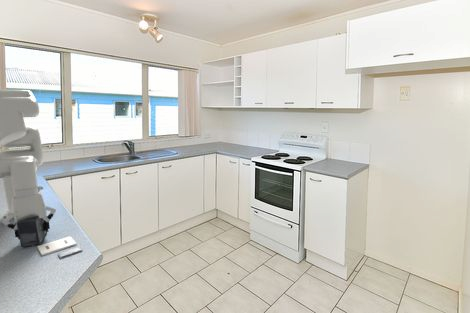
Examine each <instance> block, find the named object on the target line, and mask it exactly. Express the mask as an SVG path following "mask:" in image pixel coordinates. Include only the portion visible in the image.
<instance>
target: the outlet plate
mask: <svg viewBox="0 0 470 313" xmlns="http://www.w3.org/2000/svg"><path fill="white" fill-rule="evenodd" d="M73 246H77V242H76V241H75V240H74V239H73V237H72V236H66V237H63V238H60V239H57V240H53V241H51V242H50V241H49V242H47V243H42V244H40V245H37V246H36V247H37V250H38V252H39V253H40V255H41V256H47V255H49V254H53V253H56V252H58V251H61V250H65V249H67V248H71V247H73Z"/></svg>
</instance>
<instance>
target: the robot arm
mask: <svg viewBox="0 0 470 313" xmlns="http://www.w3.org/2000/svg"><path fill="white" fill-rule="evenodd" d="M38 103H39V102H38V101H37V98H36V97H35V95H34V94H33V92H32V91H31V90H28V89H8V88H6V89H5V88H3V89H1V88H0V150H1V149H2V147H3V148H14V149H5V150H2V151H0V179H2V183H3V188H4V194H5V198H6V199H5V200H6V204H7V211H5V212H4V217H5V218H4V219H3V220H2V224H3V225H5V226H6V227H7V228H9V229H11V230H14V237H15V238H17V239H18V240H19V241H20V238H19V233H18V227H17V222H18V221H20V220H23V219H27V218H31V217H35V216H39V218H40V219H41V218H42V219H44V228H45V231H46V232H47V233H49V230H50V228H51V227H50V221H51V219H52V218H53V217H54V215H55V214H56V211H57V209H56V208H55V207H50V206H47V205H46V203H45V200H44V196H43V194H42V192H41V191H43V190H44V186H43V185H41V186H40V185H39V183H38V176H37V171H38V170H39V167H40V166H42V165H43V163H44V155H43V148H42V140H41V135H40V131H39V129H38V128H37V127H36V126H34V125H26V124H25V119H24V118H37V117H38V115H39V113H40V107H39V104H38ZM17 147H26V148H17ZM28 147H29V148H28ZM47 211H49V214H48V215H47ZM12 219H13V220H14V223H11V222H10V220H12Z"/></svg>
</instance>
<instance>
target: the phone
mask: <svg viewBox="0 0 470 313" xmlns="http://www.w3.org/2000/svg"><path fill="white" fill-rule="evenodd" d="M81 252H83V249H82V248H81V247H80V246H77V247H75V248H71V249H68V250H65V251H63V252H59V253H57V256H58V258H59V260H61V259H65V258H67V257H70V256H73V255H76V254H79V253H81Z"/></svg>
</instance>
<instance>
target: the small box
mask: <svg viewBox="0 0 470 313" xmlns="http://www.w3.org/2000/svg"><path fill="white" fill-rule="evenodd" d="M17 227H18V233H19V238H20V240H19V244H20V248H21V249H25V248H28V247H29V248H30V247H31V248H32V247H37V246H39V245H42V244H43V243H42V242H43V241H44V239H45V237H46V236H47V235H48V232H46V231H45V228H44V219H42V218H41V219H40V218H39V216H35V217H31V218H27V219H23V220H20V221H18V222H17Z"/></svg>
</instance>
